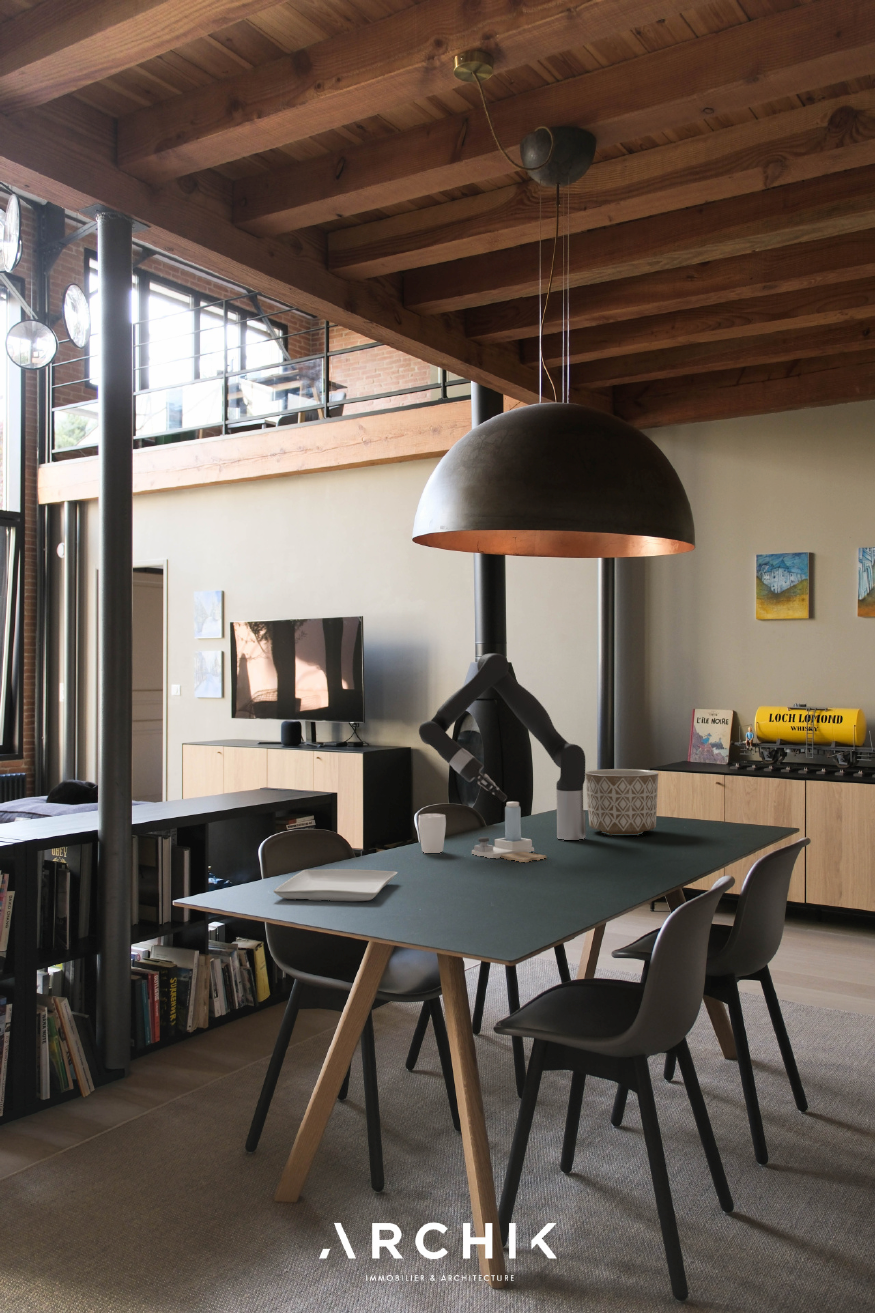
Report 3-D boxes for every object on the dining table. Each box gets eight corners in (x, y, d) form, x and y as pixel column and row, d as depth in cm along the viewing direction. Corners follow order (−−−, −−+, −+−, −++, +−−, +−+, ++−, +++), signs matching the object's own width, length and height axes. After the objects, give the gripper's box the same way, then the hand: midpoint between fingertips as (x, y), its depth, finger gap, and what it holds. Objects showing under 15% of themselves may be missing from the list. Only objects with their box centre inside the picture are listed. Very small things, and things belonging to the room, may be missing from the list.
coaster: (523, 854, 315) (523, 851, 315) (546, 858, 307) (546, 855, 307) (500, 858, 309) (500, 855, 309) (523, 862, 301) (523, 859, 301)
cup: (444, 855, 316) (443, 817, 316) (416, 854, 317) (415, 817, 317) (448, 850, 325) (447, 813, 325) (421, 849, 326) (420, 813, 326)
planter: (595, 839, 343) (594, 776, 344) (579, 828, 369) (578, 769, 369) (669, 837, 345) (668, 775, 346) (647, 827, 371) (646, 768, 372)
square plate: (303, 881, 278) (303, 868, 278) (398, 884, 274) (398, 870, 274) (272, 903, 251) (272, 888, 251) (377, 906, 247) (377, 890, 247)
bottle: (513, 845, 324) (513, 801, 324) (524, 847, 320) (523, 802, 320) (502, 847, 321) (501, 802, 321) (512, 849, 317) (512, 803, 317)
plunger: (484, 849, 317) (484, 836, 317) (491, 850, 315) (491, 838, 315) (476, 850, 315) (476, 838, 315) (483, 851, 313) (483, 839, 313)
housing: (512, 848, 327) (512, 836, 327) (534, 852, 319) (533, 839, 319) (471, 854, 316) (471, 842, 316) (492, 859, 308) (492, 846, 308)
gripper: (470, 755, 322) (510, 790, 318) (476, 757, 335) (515, 791, 331) (455, 772, 323) (495, 808, 319) (462, 774, 335) (500, 808, 331)
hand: (505, 799), depth 325 cm, fingers closed
